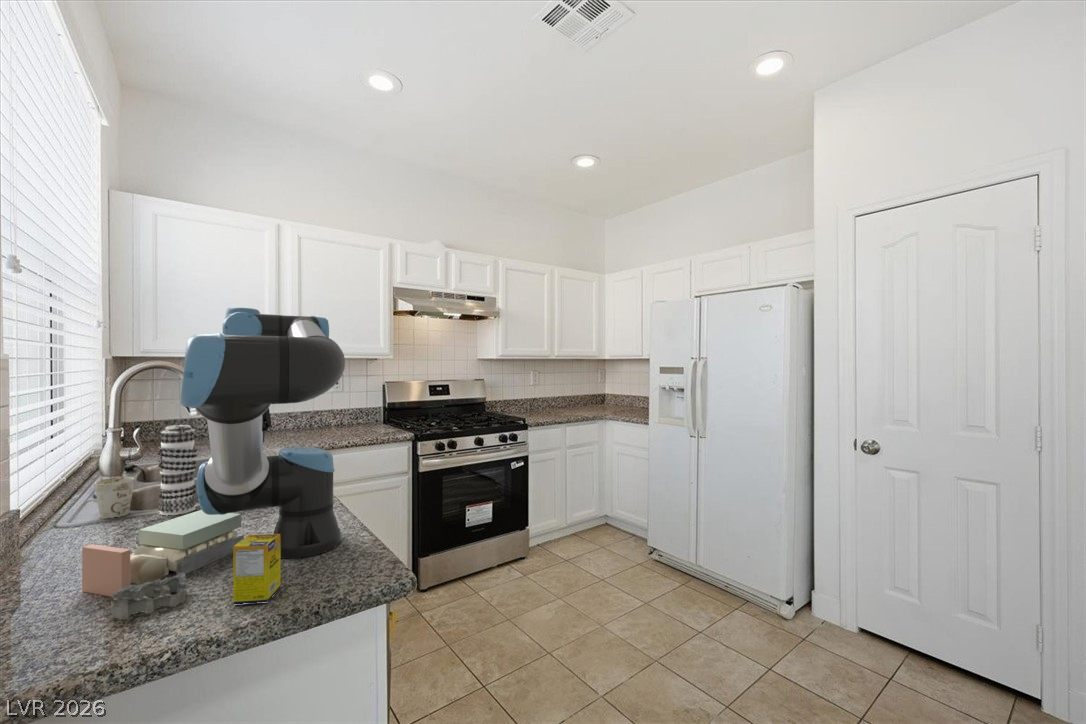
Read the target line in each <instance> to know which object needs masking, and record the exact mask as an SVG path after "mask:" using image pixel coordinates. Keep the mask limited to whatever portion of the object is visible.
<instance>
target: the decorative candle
mask: <svg viewBox="0 0 1086 724" xmlns="http://www.w3.org/2000/svg"><path fill="white" fill-rule="evenodd" d="M195 431H196V429H194V428H193V427H192V426H191V425H190V424H173V425H168V426H166V427H165V428H164V429H163V431H160V433H161V442H160V445H159V446H157V450H158V451H157V455H158V456H160V457H159V458H158V461H157V462H158V468H159V469H160V470H159V475H161V476H160V477H161V478H160V479H161V482H160V488H159V491H158V492H159V493H160V494H159V495H158V498H159V499H160V500H159V501H158V505H159V507H158V510H159V512H160V513H158V514H161V515H160V516H162V515H166V517H167V516H168V515H172V516H178V515H179V514H180V515H183V514H184V515H185V514H189V513H192V512H194V511H195V510H196V503H197V502H196V499H197V497H196V496H195V495H194V494H196V493H197V490H196V489H197V484H195V477H194V472H195V471H196V469H197V466H195V465H196V464H197V461H195V460H194V459H195V458H197V457H198V454H196V452H197V451H198V449H196V448H194V446H195V445H196V442H195V437H194V436H195ZM194 509H195V510H194ZM168 517H169V516H168Z"/></svg>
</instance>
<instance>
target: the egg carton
mask: <svg viewBox="0 0 1086 724" xmlns="http://www.w3.org/2000/svg"><path fill="white" fill-rule="evenodd" d="M186 591H187V579H186V574H185V573H184V572H183V573H181V574H179V575H177V574H176V575H173V576H172V577H165V578H164V579H161V578H160V579H157V580H155V581H152V582H146V583H144V584H131V585H127V586H124V587H122V588H121V589H119V590H118V591H116V592H115V593H114V594H113V597H112V598H111V601H110V605H109V607H111V618H112V619H111V620H114V619H113V618H120V619H119V620H124V619H123V618H125V619H128V618H130V617H131V616H132V615H131V614H133V613H135V614H137V613H136V612H139V613H141V612H140V611H145V612H149V611H152V610H154V609H155V610H157V609H158V607H159V608H162V607H161V606H163V607H166V606H165V605H168V606H167V607H170V606H172V607H176V606H178V605H180V602H181V603H182V602H185V601H186ZM174 592H176V593H175V594H172V593H174ZM175 605H176V606H175ZM156 608H157V609H156ZM155 610H154V611H155ZM145 612H144V613H145ZM152 612H153V611H152ZM149 613H150V612H149ZM130 615H131V616H130ZM133 615H134V614H133ZM127 617H128V618H127Z"/></svg>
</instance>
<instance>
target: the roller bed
mask: <svg viewBox="0 0 1086 724" xmlns="http://www.w3.org/2000/svg"><path fill="white" fill-rule="evenodd" d="M244 538H245V534H244V533H243V534H242V533H239V534H238V533H237V532H236V531H235V530H232V531H229V532H227V533H224V534H221V535H219V536H216V537H214V538H211V539H209V540H206V541H204V542H201V543H199V544H196V545H193V546H191V547H188V548H186V549H183V550H182V549H174V548H167V547H159V546H152V545H144V544H140V545H139V546H138V547H137V548H136V550H135V551H134V552H132V553H131V552H130V554H132V555H141V554H143V555H150V556H157V557H164V558H167V561H166V566H167V568H168V569H169V572H175V573H176V576H177V575H179V574H181V573H183V572H184V573H185V575H187V574H189V573H191V572H193V571H196V570H197V569H200V568H203V567H205V566H207V565H209V564H211V563H213V562H217V561H218V560H221V559H223V558H225V557H227V556H229V555H231V554H232V555H233V547H234V546H235V545H236V544H237V543H239V542H240V541H242V540H243V539H244Z"/></svg>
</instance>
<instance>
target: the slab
mask: <svg viewBox="0 0 1086 724" xmlns="http://www.w3.org/2000/svg"><path fill="white" fill-rule="evenodd" d="M241 527H242V514H241V513H237V512H233V513H227V514H224V515H219V514H217V515H207V514H205V513H204V512H203V511H202V510H201V509H200V510H197V511H192V512H189V513H186V514H184V515H183V514H182V515H181V516H177V517H175V518H174V517H173V518H172V519H169V520H165V521H162V522H158V523H156V524H155V523H154V524H152V525H150V526H147V527H144V528H141V529H139V530H138V545H139V544H140V545H141V544H144V545H152V546H159V547H167V548H174V549H182V550H183V549H186V548H188V547H191V546H193V545H196V544H199V543H201V542H204V541H206V540H209V539H211V538H214V537H216V536H219V535H221V534H224V533H227V532H229V531H232V530H233V531H235V530H236V529H237V530H238V528H241Z"/></svg>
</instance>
